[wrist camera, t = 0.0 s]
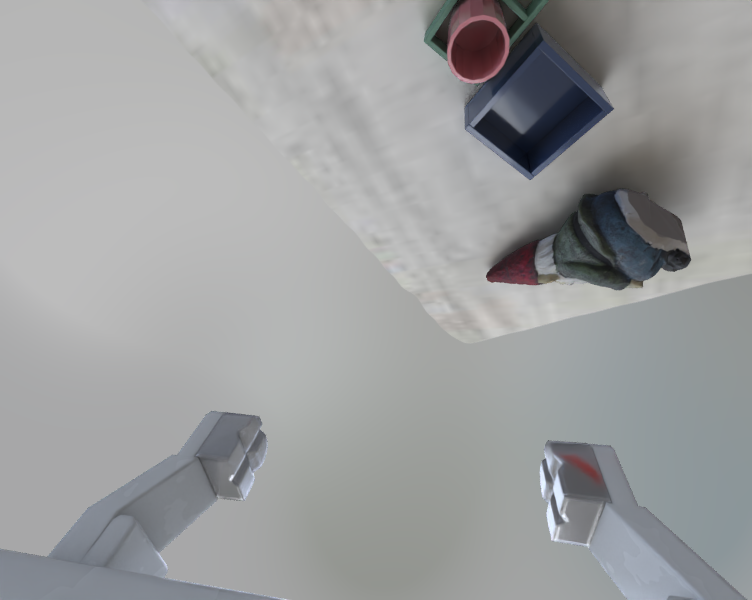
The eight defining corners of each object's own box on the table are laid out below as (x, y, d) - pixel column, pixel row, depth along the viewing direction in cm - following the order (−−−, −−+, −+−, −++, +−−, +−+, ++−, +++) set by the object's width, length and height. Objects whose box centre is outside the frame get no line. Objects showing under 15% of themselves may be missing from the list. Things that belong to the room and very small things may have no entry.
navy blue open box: (536, 21, 45) (543, 39, 41) (601, 86, 50) (614, 108, 46) (464, 107, 54) (464, 129, 50) (525, 156, 58) (530, 180, 54)
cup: (474, -23, 43) (477, 0, 37) (514, 15, 45) (522, 43, 39) (438, 30, 47) (435, 59, 41) (476, 63, 50) (478, 95, 43)
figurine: (531, 198, 79) (532, 271, 82) (473, 204, 71) (476, 284, 74) (708, 179, 55) (700, 283, 58) (651, 185, 47) (645, 306, 50)
